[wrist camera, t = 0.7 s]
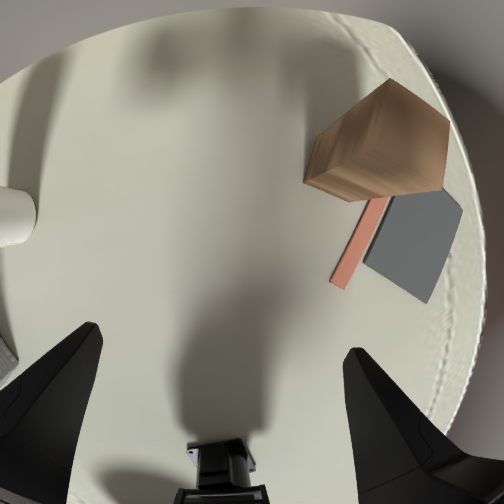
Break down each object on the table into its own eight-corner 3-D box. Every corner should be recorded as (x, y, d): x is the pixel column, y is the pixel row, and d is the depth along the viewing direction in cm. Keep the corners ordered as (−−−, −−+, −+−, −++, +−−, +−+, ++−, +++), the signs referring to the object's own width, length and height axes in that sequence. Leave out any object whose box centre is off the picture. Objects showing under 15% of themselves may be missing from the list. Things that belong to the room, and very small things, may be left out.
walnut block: (348, 202, 24) (442, 190, 12) (303, 182, 23) (376, 148, 11) (361, 157, 23) (450, 121, 11) (317, 136, 23) (390, 77, 11)
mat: (424, 303, 26) (426, 304, 25) (362, 263, 24) (364, 263, 24) (460, 210, 25) (463, 210, 25) (407, 158, 24) (409, 157, 23)
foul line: (342, 289, 24) (344, 289, 24) (329, 281, 24) (330, 282, 24) (410, 133, 24) (412, 133, 23) (399, 124, 23) (401, 124, 23)
